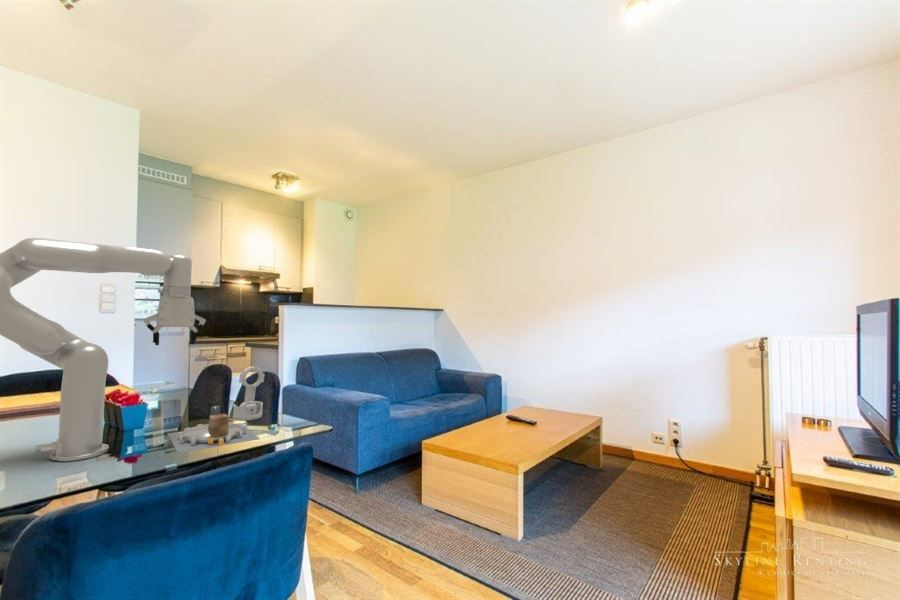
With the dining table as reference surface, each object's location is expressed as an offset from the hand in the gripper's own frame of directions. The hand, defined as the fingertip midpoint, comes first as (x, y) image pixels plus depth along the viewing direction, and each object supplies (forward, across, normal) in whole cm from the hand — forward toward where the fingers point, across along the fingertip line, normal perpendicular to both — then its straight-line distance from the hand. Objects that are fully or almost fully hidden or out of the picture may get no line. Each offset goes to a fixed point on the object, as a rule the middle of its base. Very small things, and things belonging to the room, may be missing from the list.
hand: (174, 344), depth 137 cm
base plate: (+30, +10, -12) cm, 34 cm away
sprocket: (+29, +10, -12) cm, 33 cm away
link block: (+27, +10, -19) cm, 34 cm away
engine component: (+31, +26, +8) cm, 41 cm away
